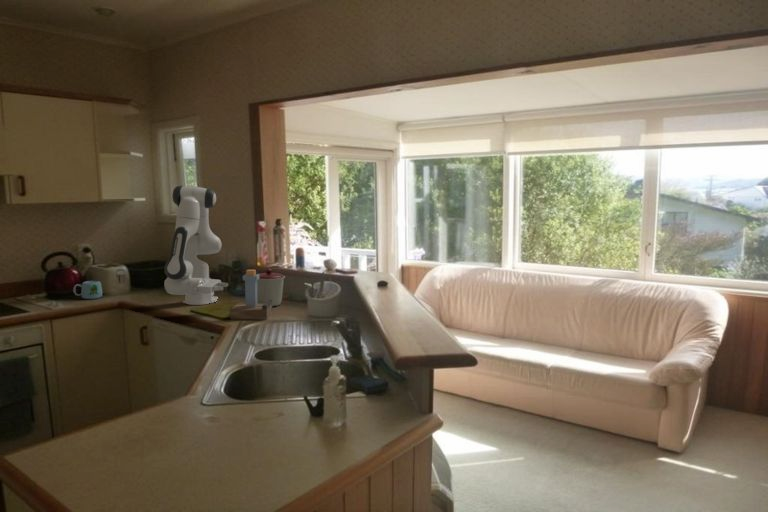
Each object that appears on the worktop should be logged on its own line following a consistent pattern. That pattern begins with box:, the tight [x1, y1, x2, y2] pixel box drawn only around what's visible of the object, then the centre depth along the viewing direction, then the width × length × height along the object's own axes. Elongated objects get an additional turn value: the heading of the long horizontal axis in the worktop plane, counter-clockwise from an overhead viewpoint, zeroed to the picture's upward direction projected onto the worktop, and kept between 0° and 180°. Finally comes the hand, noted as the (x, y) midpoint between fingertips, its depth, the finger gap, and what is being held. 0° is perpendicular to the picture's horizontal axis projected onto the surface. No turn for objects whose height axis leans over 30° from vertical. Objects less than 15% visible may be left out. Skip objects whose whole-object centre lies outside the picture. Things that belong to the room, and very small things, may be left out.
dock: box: [229, 300, 273, 320], centre depth 260 cm, size 16×18×7 cm
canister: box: [257, 268, 286, 308], centre depth 286 cm, size 18×18×21 cm
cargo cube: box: [245, 269, 257, 276], centre depth 258 cm, size 4×4×4 cm
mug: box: [72, 280, 103, 300], centre depth 300 cm, size 15×11×10 cm
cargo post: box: [242, 273, 260, 307], centre depth 259 cm, size 7×7×16 cm
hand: (225, 286), depth 258 cm, fingers open, 8 cm apart
